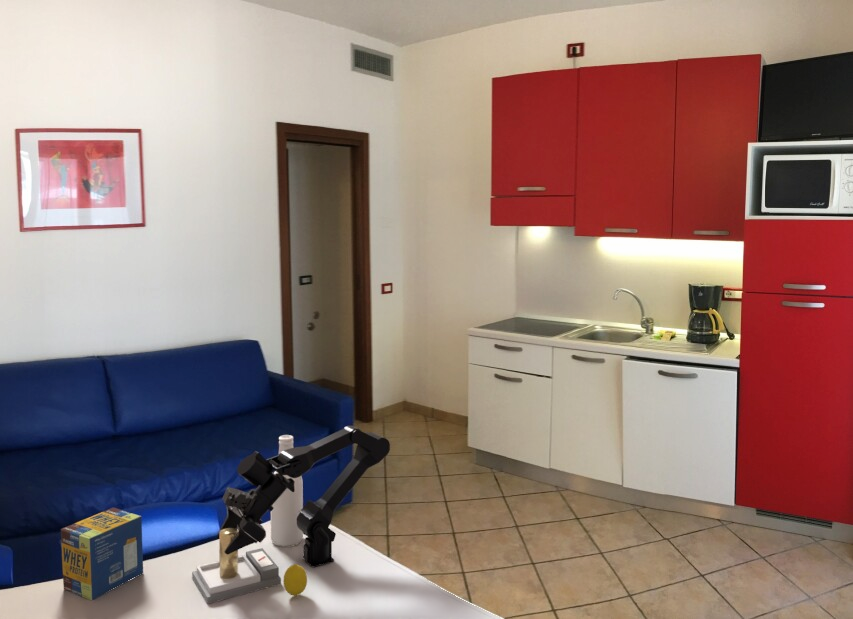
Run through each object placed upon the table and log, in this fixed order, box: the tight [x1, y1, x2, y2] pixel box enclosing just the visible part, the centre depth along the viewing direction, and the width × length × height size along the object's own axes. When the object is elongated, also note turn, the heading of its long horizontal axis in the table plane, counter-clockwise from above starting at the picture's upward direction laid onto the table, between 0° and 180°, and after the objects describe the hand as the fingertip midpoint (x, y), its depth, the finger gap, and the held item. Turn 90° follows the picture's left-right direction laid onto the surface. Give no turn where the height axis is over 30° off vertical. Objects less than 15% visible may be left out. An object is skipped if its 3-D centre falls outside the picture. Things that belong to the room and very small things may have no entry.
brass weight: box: [218, 528, 239, 579], centre depth 177 cm, size 4×4×11 cm
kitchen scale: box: [191, 547, 282, 604], centre depth 179 cm, size 14×18×4 cm
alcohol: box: [270, 434, 304, 548], centre depth 200 cm, size 9×9×30 cm
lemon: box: [283, 563, 308, 597], centre depth 172 cm, size 6×6×8 cm
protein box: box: [60, 507, 144, 601], centre depth 177 cm, size 10×15×16 cm
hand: (221, 545), depth 176 cm, fingers open, 9 cm apart
